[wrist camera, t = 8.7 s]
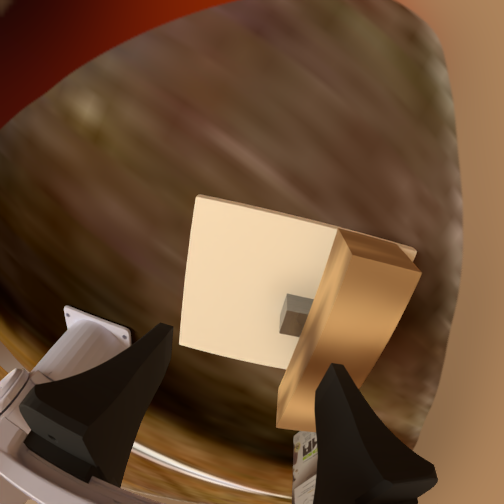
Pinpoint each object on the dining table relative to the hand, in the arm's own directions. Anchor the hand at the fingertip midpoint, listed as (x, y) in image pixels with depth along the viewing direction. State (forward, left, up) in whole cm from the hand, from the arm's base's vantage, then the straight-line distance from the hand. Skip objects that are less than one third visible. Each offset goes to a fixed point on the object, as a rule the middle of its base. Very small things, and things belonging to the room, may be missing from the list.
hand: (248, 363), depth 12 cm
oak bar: (-2, -6, -7) cm, 9 cm away
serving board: (-2, -3, -10) cm, 10 cm away
